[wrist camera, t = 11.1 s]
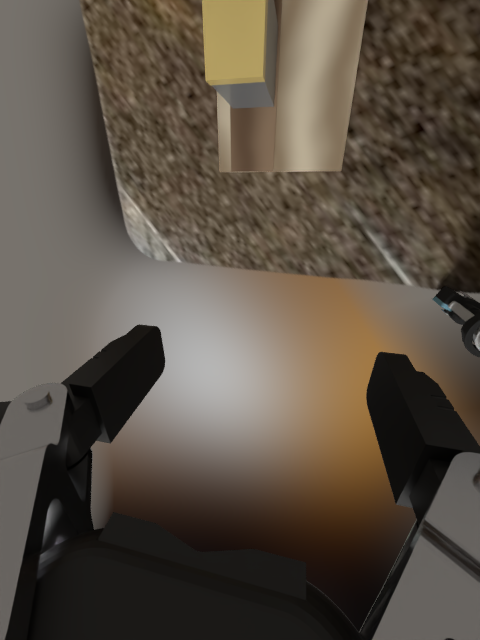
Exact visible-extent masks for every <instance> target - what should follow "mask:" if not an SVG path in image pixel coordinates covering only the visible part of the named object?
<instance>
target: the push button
mask: <svg viewBox="0 0 480 640" xmlns="http://www.w3.org/2000/svg"><path fill="white" fill-rule="evenodd" d="M460 292H461V291H460ZM461 293H462V294H464V296H461V295H459V294H458V293H456V292H455V291H453V290H452V289H450V288H448V287H446V286H444V287H443V288H442V289H441V290H440V292H439V293H438V294H437V295H436V296H435V297H434V298H433V300H434V301H435V302H436V303H437V304H439V305H440V306H441V307H443V308H445V310H443V309H442V311H443V312H444V313H446V314H447V315H449V316H450V317H451V318H452V319H453V320H454V321H455V322H456V323H458V324H461V325H463V327H462V329H461V332H462V341H463V342H464V345H465V347H466V349H467V350H468V351H469V352H470V353H472V354H473V355H475V356H477V357H480V303H478V302H477V301H475V300H474V299H473V298H471V297H470V296H469V295H467V294H465V293H463V292H461ZM472 341H473V342H475V344H476V345H473V344H472Z"/></svg>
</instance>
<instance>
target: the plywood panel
mask: <svg viewBox="0 0 480 640" xmlns="http://www.w3.org/2000/svg"><path fill="white" fill-rule="evenodd" d="M274 3H275V9H276V16H277V22H278V38H277V58H276V78H275V97H274V107H254V108H234V109H233V108H232V107H231V106H230V105H229V103H228V102H227V101H226V100H225V99H224V98H223V97H222V96H221V95H220V94H219V93H218V92H217V113H218V144H219V172H311V171H341V169H342V163H343V156H344V150H345V143H346V137H347V131H348V124H349V118H350V112H351V105H352V99H353V92H354V86H355V80H356V73H357V67H358V61H359V54H360V48H361V41H362V35H363V29H364V22H365V16H366V9H367V3H368V0H274Z"/></svg>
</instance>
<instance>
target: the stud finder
mask: <svg viewBox="0 0 480 640" xmlns="http://www.w3.org/2000/svg"><path fill="white" fill-rule="evenodd" d="M202 9H203V32H204V54H205V77H206V81H207V82H208V84H209V85H212V86H213V87H214V88H215V90H216V91H217V92H218V93H219V94H220V95H221V96H222V97H223V98H224V99H225V100H226V101H227V102H228V103H229V105H230V106H231V107H232V108H233V109H234V108H254V107H274V97H275V78H276V58H277V38H278V22H277V16H276V9H275V3H274V0H202Z"/></svg>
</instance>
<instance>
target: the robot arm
mask: <svg viewBox="0 0 480 640" xmlns="http://www.w3.org/2000/svg"><path fill="white" fill-rule="evenodd" d="M164 367H165V356H164V350H163V344H162V338H161V332H160V329H159V328H158V327H156V326H147V325H137V326H135V327H134V328H133V329H132V330H131V331H129V332H128V333H127V334H126V335H124V336H122V337H120V338H118V339H116V340H114V341H112V342H110V343H109V344H108V345H107V346H106V347H104V348H103V349H102V350H101V352H98V353H97V354H96V355H95V356H93V359H92V358H91V359H90V360H88V361H87V362H86V363H85V364H84V365H82V367H80V368H79V369H78V370H76V371H75V372H74V373H73V374H72V375H70V376H69V377H68V378H67V379H65V380H64V381H63V382H62V383H61V384H60V383H47V384H42V385H39V386H36V387H33V388H31V389H29V390H27V391H25V392H23V393H22V394H20V395H19V396H18V397H16V398H15V399H14V400H13V401H8V402H0V640H480V446H479V445H478V443H477V442H476V440H475V439H474V437H473V436H472V434H471V433H470V431H469V430H468V429H467V427H466V426H465V424H464V422H463V421H462V419H461V418H460V416H459V415H458V413H457V412H456V411H454V407H453V406H452V404H451V403H450V401H449V400H447V399H446V396H445V394H444V393H443V391H442V390H441V388H440V387H439V385H438V384H437V383H436V382H435V381H434V380H432V379H431V378H430V377H429V376H427V375H426V374H425V373H424V372H418V371H416V370H415V368H414V367H413V365H412V364H411V362H410V360H409V358H408V357H407V356H406V355H404V354H395V353H386V352H379V353H378V355H377V357H376V360H375V364H374V367H373V370H372V374H371V377H370V380H369V384H368V388H367V397H366V398H367V406H368V409H369V413H370V416H371V420H372V423H373V427H374V430H375V433H376V437H377V441H378V444H379V447H380V451H381V454H382V458H383V461H384V465H385V468H386V472H387V475H388V478H389V482H390V485H391V489H392V492H393V495H394V499H395V503H396V504H397V505H402V506H406V507H411V508H413V510H414V513H415V515H416V518H417V520H416V522H415V524H414V525H413V527H412V529H411V532H410V533H409V535H408V537H407V540H406V542H405V544H404V546H403V548H402V550H401V552H400V554H399V556H398V558H397V560H396V562H395V564H394V566H393V568H392V570H391V572H390V574H389V576H388V578H387V580H386V582H385V584H384V586H383V588H382V590H381V592H380V594H379V596H378V597H377V600H376V601H375V603H374V605H373V607H372V608H371V610H370V612H369V614H368V616H367V618H366V620H365V622H364V624H363V626H362V628H361V630H360V632H358V631H357V629H356V628H355V627H354V626H353V624H352V623H351V622H350V621H349V619H348V618H347V617H346V616H345V614H344V613H343V612H342V611H341V610H340V609H339V608H338V607H337V606H336V605H335V604H334V603H333V602H332V601H331V600H330V599H329V598H328V597H327V596H326V595H325V594H324V593H322V592H321V591H320V590H318V588H316V587H315V586H313V585H312V584H310V583H309V582H307V581H306V563H305V562H301V561H297V560H293V559H290V558H286V557H282V556H278V555H274V554H271V553H267V552H263V551H259V550H255V549H248V550H247V549H246V550H232V551H231V550H230V551H214V552H198V551H196V550H194V549H192V548H191V547H189V546H188V545H186V544H185V543H183V542H182V541H180V540H179V539H178V538H176V537H175V536H173V535H172V534H170V533H169V532H168V531H166V530H165V529H163V528H162V527H160V526H159V525H157V524H156V523H153V522H149V521H145V520H141V519H137V518H133V517H130V516H126V515H122V514H118V513H114V512H113V514H112V516H111V517H110V519H109V521H108V523H107V524H106V526H105V528H101V529H96V530H94V525H93V521H92V516H91V485H92V450H91V446H92V445H93V444H94V443H95V441H101V442H106V443H111V442H112V441H113V439H114V438H115V437H116V435H117V434H118V433H119V431H120V430H121V429H122V427H123V426H124V425H125V423H126V421H127V420H128V419H129V418H130V416H131V415H132V414H133V412H134V411H135V409H136V408H137V407H138V406H139V404H140V403H141V402H142V400H143V399H144V397H145V396H146V395H147V393H148V392H149V391H150V389H151V388H152V387H153V385H154V384H155V382H156V381H157V380H158V379H159V377H160V376H161V374H162V372H163V370H164Z"/></svg>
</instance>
